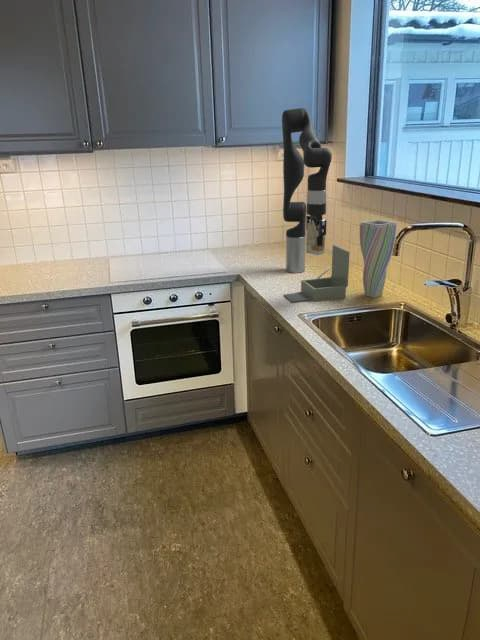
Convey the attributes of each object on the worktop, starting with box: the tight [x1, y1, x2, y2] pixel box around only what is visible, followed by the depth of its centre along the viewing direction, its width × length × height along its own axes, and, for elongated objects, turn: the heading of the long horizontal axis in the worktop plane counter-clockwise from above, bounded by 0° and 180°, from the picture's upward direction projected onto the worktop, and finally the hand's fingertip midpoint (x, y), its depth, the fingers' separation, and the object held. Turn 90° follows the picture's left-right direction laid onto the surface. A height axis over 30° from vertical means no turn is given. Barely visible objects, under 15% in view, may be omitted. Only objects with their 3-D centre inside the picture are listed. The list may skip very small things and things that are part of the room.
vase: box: [359, 219, 397, 299], centre depth 199 cm, size 14×14×30 cm
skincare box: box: [305, 223, 326, 256], centre depth 197 cm, size 6×4×12 cm
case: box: [300, 244, 350, 302], centre depth 204 cm, size 15×15×19 cm
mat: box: [283, 291, 312, 304], centre depth 203 cm, size 10×8×1 cm
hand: (315, 243), depth 198 cm, fingers closed on skincare box, 7 cm apart
